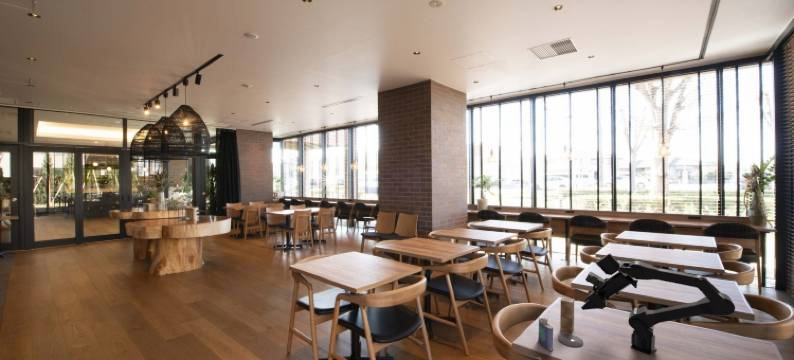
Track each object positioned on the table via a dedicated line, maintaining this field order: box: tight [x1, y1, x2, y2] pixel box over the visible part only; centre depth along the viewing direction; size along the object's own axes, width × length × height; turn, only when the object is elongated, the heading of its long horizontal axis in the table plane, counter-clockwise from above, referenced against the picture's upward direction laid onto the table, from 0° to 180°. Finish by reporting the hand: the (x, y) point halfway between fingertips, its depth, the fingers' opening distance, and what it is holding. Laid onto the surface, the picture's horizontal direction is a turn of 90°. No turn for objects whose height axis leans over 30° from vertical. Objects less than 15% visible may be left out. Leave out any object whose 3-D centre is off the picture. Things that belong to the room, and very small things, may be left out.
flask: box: [538, 317, 554, 352], centre depth 136 cm, size 9×3×11 cm, turn 2°
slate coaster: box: [557, 333, 584, 348], centre depth 139 cm, size 9×9×1 cm
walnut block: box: [559, 296, 575, 334], centre depth 148 cm, size 4×4×13 cm
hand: (583, 304), depth 144 cm, fingers open, 9 cm apart
